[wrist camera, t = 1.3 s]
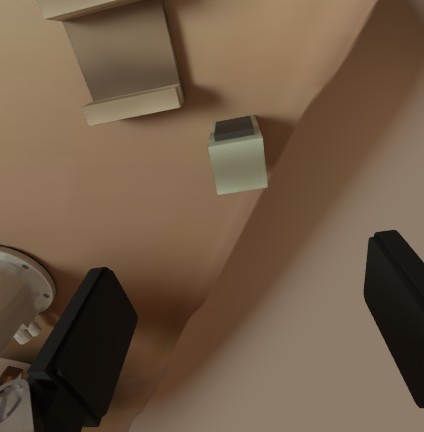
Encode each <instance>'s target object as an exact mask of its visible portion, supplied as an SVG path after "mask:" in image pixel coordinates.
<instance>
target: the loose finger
mask: <svg viewBox="0 0 424 432" xmlns="http://www.w3.org/2000/svg"><path fill="white" fill-rule="evenodd" d="M208 150H209V154H210V159H211V164H212V169H213V174H214V179H215V184H216V188H217V193H218V195H219V194H226V193H232V192H239V191H246V190H253V189H259V188H266V187H268V186H267V176H266V166H265V156H264V146H263V137H262V134H261V131H260V129H259V126H258V123H257V120H256V117H255V115H253V116H246V117H240V118H235V119H230V120H224V121H219V122H216V123H212V128H211V134H210V139H209V145H208Z"/></svg>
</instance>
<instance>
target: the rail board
mask: <svg viewBox="0 0 424 432" xmlns="http://www.w3.org/2000/svg"><path fill="white" fill-rule="evenodd" d="M36 1H37V3H38V5H39V8H40V10H41V13H42V15H43V17H44V19H47V20H56V21H62V22H63V25H64V27H65V30H66V32H67V35H68V37H69V40H70V43H71V45H72V48H73V50H74V53H75V55H76V58H77V60H78V63H79V65H80V68H81V71H82V73H83V76H84V78H85V81H86V83H87V86H88V88H89V91H90V94H91V96H92V99H93V101H94V102H92V103H89V104H87V105H85V106H83V107H81V108H82V110H83V113H84V115H85V118H86V120H87V122H88V125H89V126H90V125H95V124H100V123H105V122H110V121H115V120H120V119H125V118H130V117H135V116H140V115H145V114H150V113H155V112H160V111H165V110H170V109H175V108H180V107H181V106H182V104H183V103H184V101H185V100H186V99H185V94H184V90H183V86H182V81H181V77H180V72H179V68H178V64H177V59H176V55H175V51H174V46H173V42H172V37H171V33H170V29H169V24H168V20H167V16H166V11H165V7H164V2H163V0H36Z"/></svg>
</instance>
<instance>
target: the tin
mask: <svg viewBox="0 0 424 432" xmlns="http://www.w3.org/2000/svg"><path fill="white" fill-rule="evenodd" d="M22 375H23V370H22V369H20V368H15V367H11V366H8V367H7V368H6V369H5V371H4V372H3V373H2V375H1V377H0V386H2V385H3V384H5V383H7V382H9V381H11V380H14V379H22Z"/></svg>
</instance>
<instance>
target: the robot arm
mask: <svg viewBox="0 0 424 432" xmlns="http://www.w3.org/2000/svg"><path fill="white" fill-rule="evenodd" d="M55 294H56V289H55V285H54V282H53V280H52V278H51V277H50V275H49V274H48V272H47V271H46V270H45V269H44V268H43V267H42V266H41V265H40V264H38V263H37V262H36V261H35V260H33V259H31V258H30V257H28V256H27V255H24V254H22V253H20V252H18V251H15V250H12V249H10V248H6V247H1V246H0V355H1V353H2V352H3V350H4V349H5V348H6V346H7V345H8V344H9V342H10V341H11V339H12V338H13V337H14V338H15V339H16V340H17V341H18V342H19V343H20V344H24V343H26V342H28V341H29V340H30V339H31V338H32V336H37V335H38V334H39V333H40V332H41V330H42V329H41V328H40V326H39V325H38V324H37V323H36V322H35V321H34V320H35V317H36V315H37V314H38V313H40V312H42V311H44V310H46V309H47V308H48V307H49V306H50V304H51V303H52V302H53V300H54V298H55ZM364 298H365V302H366V304H367V306H368V308H369V310H370V312H371V314H372V316H373V317H374V320H375V322H376V324H377V326H378V328H379V330H380V332H381V334H382V336H383V338H384V340H385V342H386V344H387V346H388V348H389V350H390V352H391V354H392V356H393V358H394V360H395V363H396V364H397V366H398V369H399V371H400V373H401V375H402V377H403V379H404V381H405V383H406V385H407V386H408V389H409V391H410V393H411V395H412V397H413V399H414V401H415V403H416V404H417V406H418V407H419V408H424V263H423V261H422V260H421V259H420V258H419V256H418V255H417V254H416V253H415V252H414V251H413V249H412V248H411V247H410V246H409V244H408V243H407V242H406V241H405V240H404V238H403V237H402V236H401V235H400V234H399V233H398V232H397V231H396V230H390V231H382V232H376V233H375V234H374V237H370V238H369V242H368V252H367V263H366V273H365V283H364ZM136 325H137V314H136V312H135V310H134V308H133V306H132V304H131V303H130V301H129V299H128V297H127V295H126V294H125V292H124V290H123V288H122V286H121V285H120V283H119V281H118V279H117V277H116V276H115V274H114V272H113V271H112V270H109V269H108V268H107V267H101V268H93V269H91V270H90V271H89V272H88V273H87V275H86V277H85V278H84V280H83V282H82V283H81V285H80V286H79V288H78V290H77V291H76V293H75V295H74V296H73V298H72V300H71V301H70V303H69V304H68V306H67V308H66V309H65V311H64V313H63V314H62V316H61V317H60V319H59V321H58V322H57V324H56V326H55V327H54V329H53V331H52V332H51V334H50V335H49V337H48V339H47V340H46V342H45V344H44V345H43V347H42V348H41V350H40V352H39V353H38V355H37V357H36V358H35V360H34V362H33V363H32V365H31V367H30V368H29V370H28V371H27V373H28V374H29V375H30V376H29V378H28V379H27V381H26V380H24V379H14V380H11V381H9V382H7V383H5V384H3V385H2V386H0V432H81V429H82V427H83V426H84V427H99V424H100V422H101V419H102V417H103V416H104V415H105V414H106V413H107V411H108V408H109V405H110V402H111V399H112V396H113V393H114V390H115V387H116V384H117V381H118V378H119V375H120V372H121V369H122V366H123V363H124V360H125V357H126V354H127V351H128V348H129V345H130V342H131V339H132V337H133V334H134V331H135V328H136Z"/></svg>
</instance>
